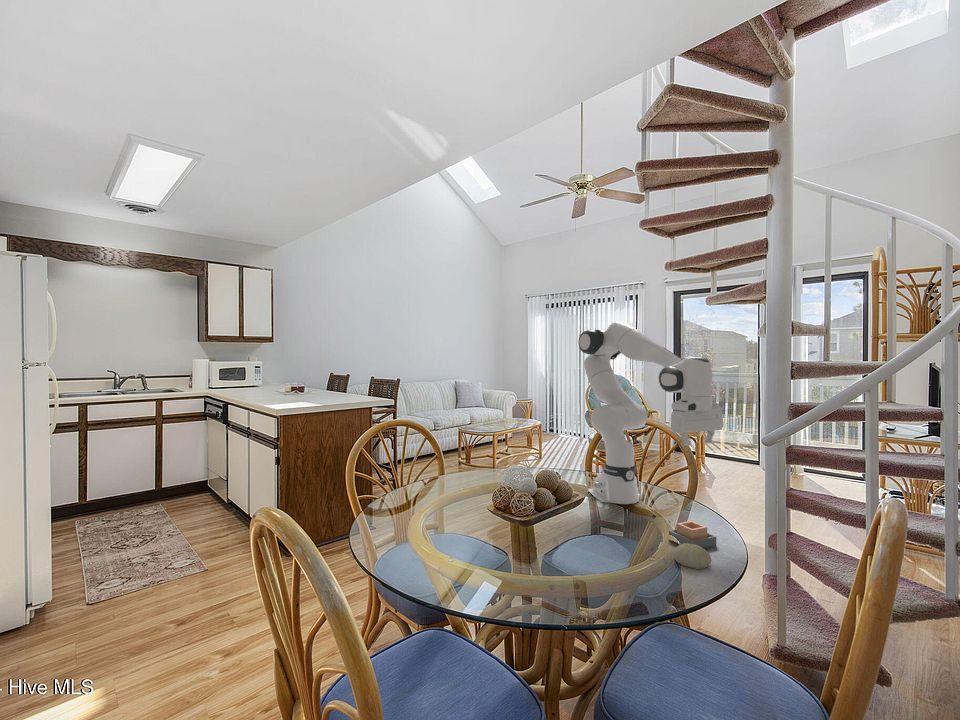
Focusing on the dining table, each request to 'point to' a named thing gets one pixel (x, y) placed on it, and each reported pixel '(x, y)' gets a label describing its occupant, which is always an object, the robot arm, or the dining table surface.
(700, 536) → the terracotta crate
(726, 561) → the dining table surface
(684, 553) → the sea urchin shell
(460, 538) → the dining table surface
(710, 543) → the charcoal crate
